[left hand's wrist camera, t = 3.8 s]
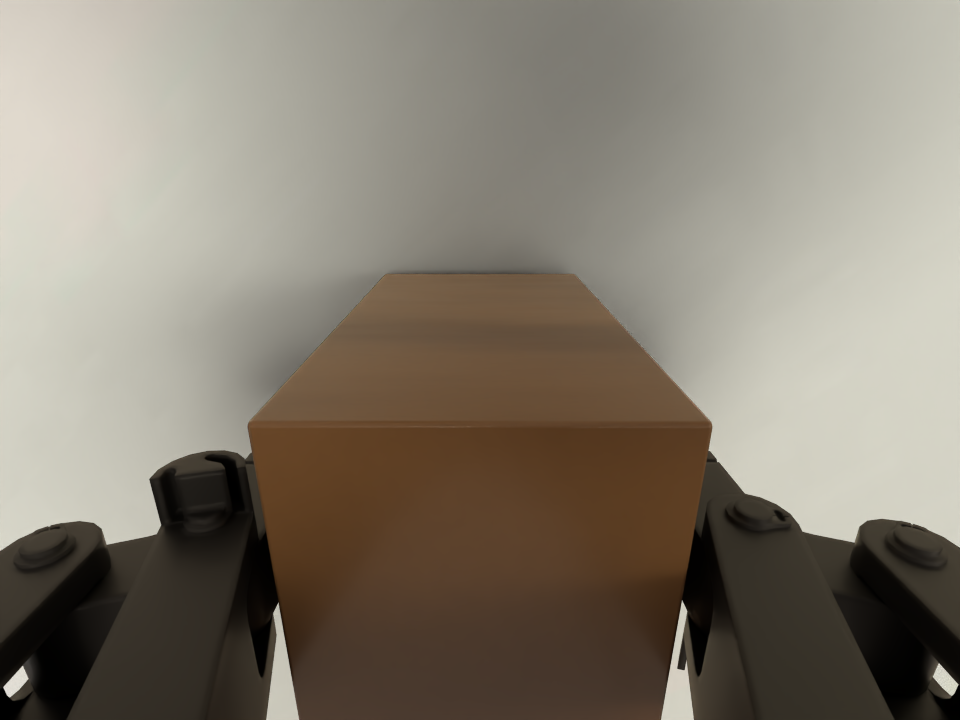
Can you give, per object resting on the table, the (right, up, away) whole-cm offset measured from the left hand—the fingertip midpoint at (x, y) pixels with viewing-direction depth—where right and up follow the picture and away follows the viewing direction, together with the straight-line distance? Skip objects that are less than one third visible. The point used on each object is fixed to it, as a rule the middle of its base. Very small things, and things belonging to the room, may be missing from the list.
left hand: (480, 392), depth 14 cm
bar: (0, -7, +3) cm, 8 cm away
